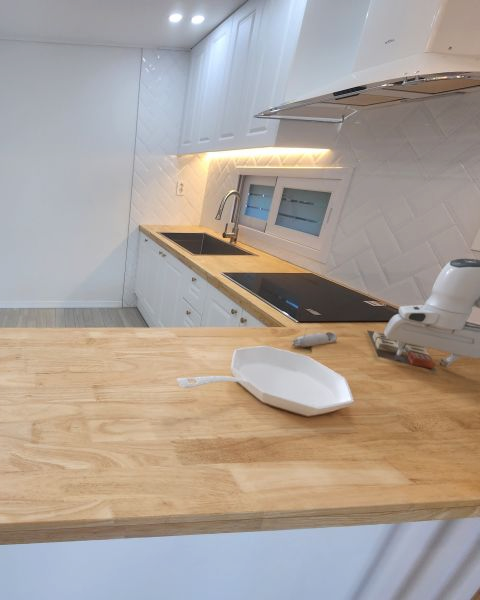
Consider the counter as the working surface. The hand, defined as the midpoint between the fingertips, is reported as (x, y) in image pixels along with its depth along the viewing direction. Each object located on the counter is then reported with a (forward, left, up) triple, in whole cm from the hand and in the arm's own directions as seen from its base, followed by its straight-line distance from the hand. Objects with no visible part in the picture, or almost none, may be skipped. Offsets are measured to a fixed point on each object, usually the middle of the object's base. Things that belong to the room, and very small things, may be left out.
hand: (421, 360), depth 97 cm
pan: (+40, +44, -2) cm, 59 cm away
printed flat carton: (0, -11, -1) cm, 11 cm away
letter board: (+4, -8, -2) cm, 9 cm away
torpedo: (+27, +5, -2) cm, 27 cm away
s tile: (0, 0, -1) cm, 1 cm away
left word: (+7, -8, -1) cm, 11 cm away
